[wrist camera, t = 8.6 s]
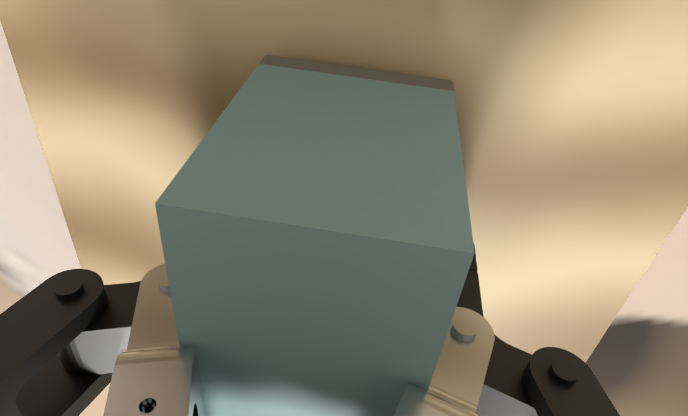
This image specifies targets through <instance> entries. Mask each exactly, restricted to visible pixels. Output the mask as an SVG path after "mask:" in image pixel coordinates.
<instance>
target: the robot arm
mask: <svg viewBox="0 0 688 416" xmlns="http://www.w3.org/2000/svg"><path fill="white" fill-rule="evenodd" d="M473 244H474V243H473ZM474 252H475V245H474ZM477 270H478V269H477V261H476V253H474V256H473V259H472V262H471V265H470V268H469V271H468V274H467V277H466V280H465V283H464V286H463V289H462V292H461V294H460V297H459V300H458V303H457V306H456V309H455V312H454V315H453V318H452V321H451V324H450V327H449V330H448V333H447V335H446V338H445V341H444V344H443V347H442V350H441V353H440V356H439V359H438V362H437V365H436V368H435V371H434V374H433V376H432V379H431V382H430V385H429V388H428V390H426V389H423V388H421V387H419V386H417V385H414V384H412V383H410V382H408V383H407V385H406V387H405V390H404V392H403V394H402V397H401V399H400V402H399V404H398V407H397V409H396V412H395V414H394V416H620V415H619V414H618V413H617V411H616V409H615V408H614V406H613V404H612V403H611V401H610V399H609V398H608V396H607V395H606V393H605V391H604V390H603V389H602V387H601V385H600V383H599V382H598V380H597V379H596V377H595V375H594V374H593V372H592V371H591V369H590V368H589V367H588V365H586V363H585V362H584V361H583V360H581V359H580V358H579V357H577V356H576V355H575V354H573V353H571V352H569V351H567V350H564V349H561V348H557V347H544V348H540V349H538V350H537V351H535V352H534V353H533V355H532V354H529V353H527V352H525V351H523V350H520V349H518V348H516V347H513V346H511V345H509V344H507V343H506V342H504V341H502V340H501V339H500V338H498V337H497V336H496V335H495V334H494V331H493V329H492V327H491V325H490V324H489V322H488V321H487V320H486V319H485V318H484V316H483V309H482V301H481V293H480V285H479V277H478V273H477ZM110 382H111V383H110ZM109 383H110V388H109V393H108V397H107V401H106V406H105V411H104V416H206V413H205V407H204V400H203V393H202V386H201V379H200V371H199V364H198V357H197V350H196V346H188V347H179V341H178V335H177V329H176V324H175V318H174V312H173V306H172V300H171V294H170V289H169V283H168V277H167V271H166V265H165V263H164V264H161V265H159V266H156V267H154V268H153V269H151V270H150V271H149V272H147V273H146V274H145V276H144V277H143V278H142V280H141V281H138V282H132V283H122V284H111V285H104V283H103V280H102V278H101V277H100V275H98V274H97V273H96V272H94V271H91V270H87V269H72V270H67V271H63V272H61V273H58V274H56V275H54V276H52V277H50V278H49V279H47V280H46V281H44V282H43V283H42V284H40V285H39V286H38V287H36V288H35V289H34V290H32V291H31V292H30V293H28V294H27V295H26V296H24V297H23V298H22V299H20V300H19V301H18V302H16V303H15V304H14V305H12V306H11V307H10V308H8V309H7V310H6V311H5V312H3V313H1V314H0V416H79V415H80V413H81V412H82V411H83V410H84V409H85V408H86V407H87V406H88V405H89V404H90V403H91V402H92V401H93V400H94V399H95V398H96V397H97V396H98V395H99V394H100V393H101V391H102V390H103V389H104V388H105V387H106V386H107V385H108V384H109Z"/></svg>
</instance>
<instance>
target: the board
mask: <svg viewBox="0 0 688 416" xmlns="http://www.w3.org/2000/svg"><path fill="white" fill-rule="evenodd" d="M0 20H1V23H2V26H3V30H4V33H5V36H6V39H7V42H8V45H9V48H10V51H11V54H12V57H13V60H14V63H15V66H16V69H17V72H18V76H19V79H20V82H21V85H22V88H23V91H24V94H25V97H26V100H27V103H28V106H29V109H30V112H31V115H32V118H33V122H34V125H35V128H36V131H37V134H38V137H39V140H40V143H41V146H42V149H43V152H44V155H45V158H46V161H47V164H48V168H49V171H50V174H51V177H52V180H53V183H54V186H55V189H56V192H57V195H58V198H59V201H60V204H61V207H62V210H63V214H64V217H65V220H66V223H67V226H68V229H69V232H70V235H71V238H72V241H73V244H74V247H75V250H76V253H77V256H78V260H79V263H80V266H81V269H87V270H91V271H94V272H96V273H97V274H98V275H100V277H101V278H102V280H103V283H104V285H111V284H122V283H132V282H138V281H141V280H142V278H143V277H144V276H145V274H146V273H147V272H149V271H150V270H151V269H153V268H154V267H156V266H159V265H161V264H164V263H165V260H164V254H163V248H162V242H161V236H160V230H159V225H158V219H157V213H156V207H155V203H156V201H157V200H158V199H159V197H160V196H161V195H162V193H163V192H164V190H165V189H166V188H167V186H168V185H169V184H170V182H171V181H172V180H173V178H174V177H175V176H176V174H177V173H178V172H179V170H180V169H181V168H182V166H183V165H184V164H185V162H186V161H187V160H188V158H189V157H190V156H191V154H192V153H193V152H194V150H195V149H196V148H197V146H198V145H199V144H200V142H201V141H202V140H203V138H204V137H205V136H206V134H207V133H208V132H209V130H210V129H211V127H212V126H213V125H214V123H215V122H216V121H217V119H218V118H219V117H220V115H221V114H222V113H223V111H224V110H225V109H226V107H227V106H228V105H229V103H230V102H231V101H232V99H233V98H234V97H235V95H236V94H237V93H238V91H239V90H240V89H241V87H242V86H243V85H244V83H245V82H246V81H247V79H248V78H249V77H250V75H251V74H252V73H253V71H254V70H255V69H256V67H257V66H258V64H259V63H260V62H261V60H262V59H263V58H264V56H265V55H272V56H279V57H286V58H293V59H300V60H307V61H315V62H322V63H329V64H336V65H343V66H351V67H358V68H365V69H372V70H379V71H386V72H394V73H401V74H408V75H415V76H422V77H429V78H437V79H444V80H451V81H453V86H454V93H455V101H456V109H457V117H458V125H459V133H460V141H461V149H462V157H463V165H464V173H465V181H466V189H467V197H468V205H469V213H470V220H471V228H472V236H473V243H474V245H475V253H476V261H477V269H478V270H477V273H478V277H479V285H480V293H481V301H482V309H483V316H484V318H485V319H486V320H487V321H488V322H489V324H490V325H491V327H492V329H493V331H494V334H495V335H496V336H497V337H498V338H500V339H501V340H502V341H504V342H506V343H507V344H509V345H511V346H513V347H516V348H518V349H520V350H523V351H525V352H527V353H529V354H532V355H533V353H534V352H535V351H537V350H538V349H540V348H544V347H557V348H561V349H564V350H567V351H569V352H571V353H573V354H575V355H576V356H577V357H579V358H580V359H581V360H583V361H584V362H586V361H587V359H588V358H589V356H590V355H591V353H592V352H593V350H594V349H595V347H596V346H597V344H598V343H599V341H600V340H601V338H602V336H603V335H604V333H605V332H606V330H607V329H608V327H609V326H610V324H611V323H612V321H613V320H614V318H615V317H616V315H617V314H618V312H619V311H620V309H621V307H622V306H623V304H624V303H625V301H626V300H627V298H628V297H629V295H630V294H631V292H632V291H633V289H634V288H635V286H636V285H637V283H638V282H639V280H640V279H641V277H642V275H643V274H644V272H645V271H646V269H647V268H648V266H649V265H650V263H651V262H652V260H653V259H654V257H655V256H656V254H657V253H658V251H659V250H660V248H661V247H662V245H663V243H664V242H665V240H666V239H667V237H668V236H669V234H670V233H671V231H672V230H673V228H674V227H675V225H676V224H677V222H678V221H679V219H680V218H681V216H682V215H683V213H684V211H685V210H686V208H687V207H688V0H0Z"/></svg>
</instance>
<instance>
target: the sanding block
mask: <svg viewBox="0 0 688 416" xmlns="http://www.w3.org/2000/svg"><path fill="white" fill-rule="evenodd" d="M155 207H156V213H157V219H158V225H159V230H160V236H161V242H162V248H163V254H164V260H165V265H166V271H167V277H168V283H169V289H170V294H171V300H172V306H173V312H174V318H175V324H176V329H177V335H178V341H179V347H188V346H196V350H197V357H198V364H199V371H200V379H201V386H202V393H203V400H204V407H205V413H206V416H394V414H395V412H396V409H397V407H398V404H399V402H400V399H401V397H402V394H403V392H404V390H405V387H406V385H407V383H408V382H410V383H412V384H414V385H417V386H419V387H421V388H423V389H426V390H428V388H429V385H430V382H431V379H432V376H433V374H434V371H435V368H436V365H437V362H438V359H439V356H440V353H441V350H442V347H443V344H444V341H445V338H446V335H447V333H448V330H449V327H450V324H451V321H452V318H453V315H454V312H455V309H456V306H457V303H458V300H459V297H460V294H461V292H462V289H463V286H464V283H465V280H466V277H467V274H468V271H469V268H470V265H471V262H472V259H473V256H474V253H475V252H474V244H473V236H472V228H471V220H470V213H469V205H468V197H467V189H466V181H465V173H464V165H463V157H462V149H461V141H460V133H459V125H458V117H457V109H456V101H455V93H454V86H453V81H451V80H444V79H437V78H429V77H422V76H415V75H408V74H401V73H394V72H386V71H379V70H372V69H365V68H358V67H351V66H343V65H336V64H329V63H322V62H315V61H307V60H300V59H293V58H286V57H279V56H272V55H265V56H264V58H263V59H262V60H261V62H260V63H259V64H258V66H257V67H256V69H255V70H254V71H253V73H252V74H251V75H250V77H249V78H248V79H247V81H246V82H245V83H244V85H243V86H242V87H241V89H240V90H239V91H238V93H237V94H236V95H235V97H234V98H233V99H232V101H231V102H230V103H229V105H228V106H227V107H226V109H225V110H224V111H223V113H222V114H221V115H220V117H219V118H218V119H217V121H216V122H215V123H214V125H213V126H212V127H211V129H210V130H209V132H208V133H207V134H206V136H205V137H204V138H203V140H202V141H201V142H200V144H199V145H198V146H197V148H196V149H195V150H194V152H193V153H192V154H191V156H190V157H189V158H188V160H187V161H186V162H185V164H184V165H183V166H182V168H181V169H180V170H179V172H178V173H177V174H176V176H175V177H174V178H173V180H172V181H171V182H170V184H169V185H168V186H167V188H166V189H165V190H164V192H163V193H162V195H161V196H160V197H159V199H158V200H157V201H156V203H155Z"/></svg>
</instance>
